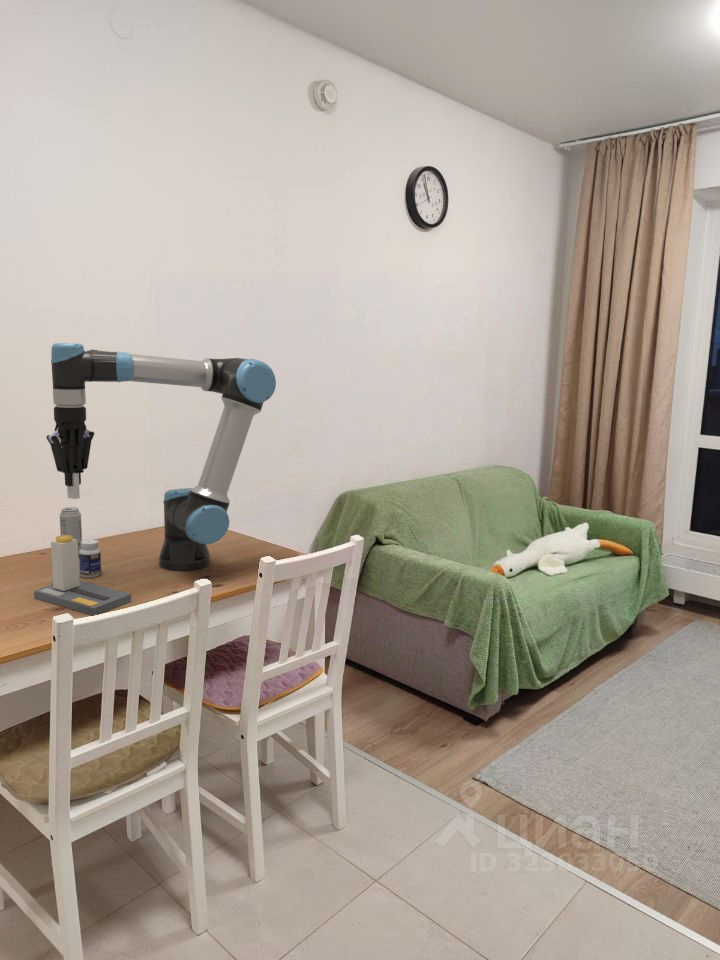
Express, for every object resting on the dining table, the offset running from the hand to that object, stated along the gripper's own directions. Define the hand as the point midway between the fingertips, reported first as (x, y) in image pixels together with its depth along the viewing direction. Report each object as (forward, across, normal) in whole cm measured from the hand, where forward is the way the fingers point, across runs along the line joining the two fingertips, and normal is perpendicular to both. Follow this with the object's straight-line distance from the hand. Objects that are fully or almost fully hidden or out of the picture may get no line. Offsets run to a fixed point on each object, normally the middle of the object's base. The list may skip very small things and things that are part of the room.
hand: (73, 497), depth 185 cm
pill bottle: (+27, -13, -11) cm, 32 cm away
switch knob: (+24, +1, -3) cm, 24 cm away
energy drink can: (+27, -22, -29) cm, 45 cm away
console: (+26, +1, +3) cm, 27 cm away
